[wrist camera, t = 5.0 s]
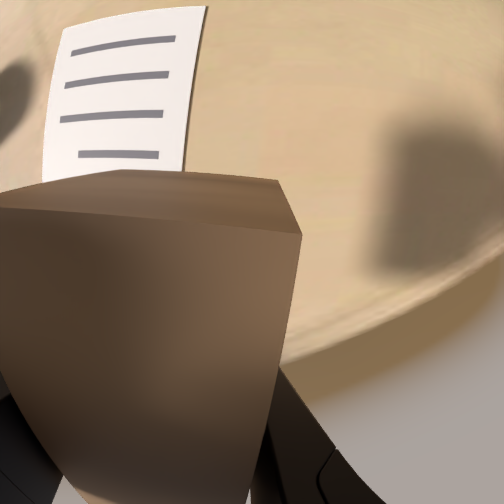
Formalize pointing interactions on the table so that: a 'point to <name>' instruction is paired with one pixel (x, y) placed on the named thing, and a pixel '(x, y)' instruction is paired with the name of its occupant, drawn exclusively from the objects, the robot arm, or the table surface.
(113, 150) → the letter
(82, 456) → the walnut block
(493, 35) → the table surface
